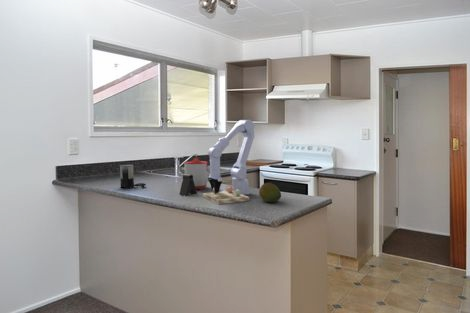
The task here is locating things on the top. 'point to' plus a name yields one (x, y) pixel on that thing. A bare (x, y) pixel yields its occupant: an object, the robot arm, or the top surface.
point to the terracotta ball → (229, 189)
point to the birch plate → (225, 197)
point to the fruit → (269, 192)
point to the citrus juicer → (198, 172)
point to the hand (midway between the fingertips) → (215, 192)
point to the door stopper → (188, 185)
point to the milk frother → (128, 177)
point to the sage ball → (238, 192)
